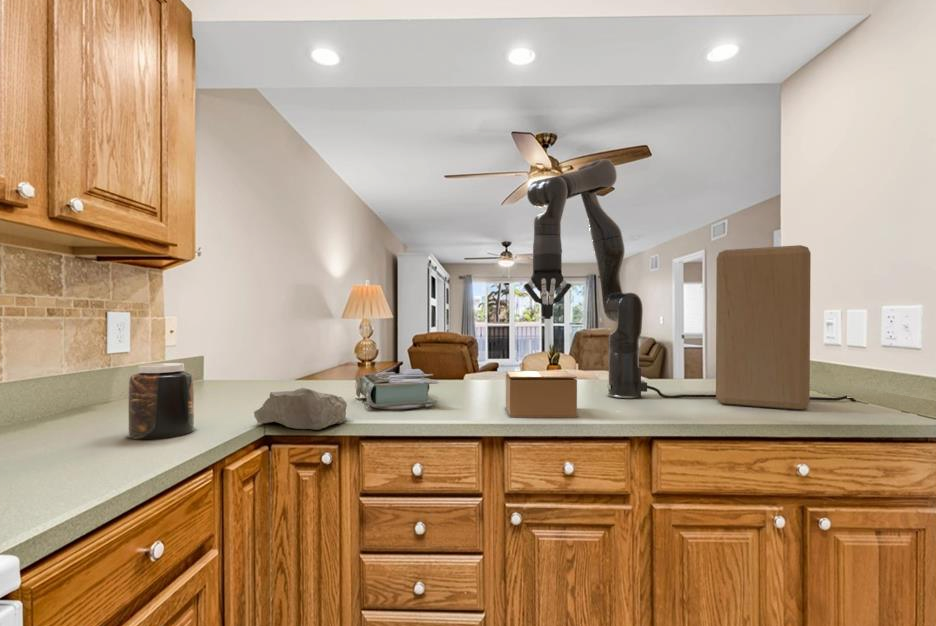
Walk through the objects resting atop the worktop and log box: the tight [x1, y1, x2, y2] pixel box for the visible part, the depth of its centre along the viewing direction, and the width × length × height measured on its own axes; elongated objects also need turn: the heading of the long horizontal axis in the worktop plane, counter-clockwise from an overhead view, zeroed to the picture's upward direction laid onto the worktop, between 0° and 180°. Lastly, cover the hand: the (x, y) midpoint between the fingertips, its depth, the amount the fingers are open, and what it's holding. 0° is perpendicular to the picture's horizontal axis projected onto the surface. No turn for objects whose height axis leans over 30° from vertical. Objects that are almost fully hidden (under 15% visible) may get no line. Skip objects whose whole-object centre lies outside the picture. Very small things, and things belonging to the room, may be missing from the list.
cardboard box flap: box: [535, 370, 578, 379], centre depth 129 cm, size 8×13×1 cm, turn 0°
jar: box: [128, 362, 195, 441], centre depth 105 cm, size 12×12×15 cm
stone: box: [253, 387, 348, 431], centre depth 115 cm, size 18×10×20 cm
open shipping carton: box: [505, 370, 578, 418], centre depth 129 cm, size 17×13×10 cm
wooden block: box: [715, 244, 812, 411], centre depth 144 cm, size 22×22×45 cm
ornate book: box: [354, 368, 446, 410], centre depth 144 cm, size 23×10×30 cm
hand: (547, 318), depth 129 cm, fingers closed
